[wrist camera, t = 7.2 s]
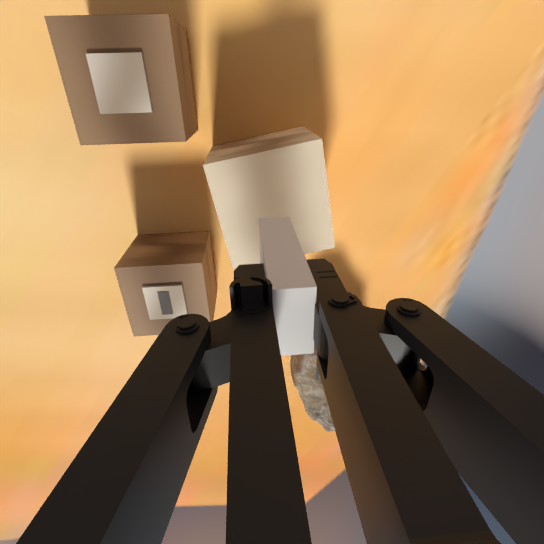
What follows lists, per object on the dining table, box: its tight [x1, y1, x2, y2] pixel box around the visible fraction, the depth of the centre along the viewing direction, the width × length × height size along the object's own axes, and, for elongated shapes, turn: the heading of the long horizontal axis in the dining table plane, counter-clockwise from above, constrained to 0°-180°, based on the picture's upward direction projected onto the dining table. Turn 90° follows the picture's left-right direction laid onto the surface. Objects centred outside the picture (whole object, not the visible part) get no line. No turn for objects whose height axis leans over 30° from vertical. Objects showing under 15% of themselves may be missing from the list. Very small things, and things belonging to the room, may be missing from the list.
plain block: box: [203, 126, 335, 269], centre depth 24 cm, size 7×7×7 cm
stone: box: [291, 343, 335, 431], centre depth 33 cm, size 7×12×7 cm, turn 26°
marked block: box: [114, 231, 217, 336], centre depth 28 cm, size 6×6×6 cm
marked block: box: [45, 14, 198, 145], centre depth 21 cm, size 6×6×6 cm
